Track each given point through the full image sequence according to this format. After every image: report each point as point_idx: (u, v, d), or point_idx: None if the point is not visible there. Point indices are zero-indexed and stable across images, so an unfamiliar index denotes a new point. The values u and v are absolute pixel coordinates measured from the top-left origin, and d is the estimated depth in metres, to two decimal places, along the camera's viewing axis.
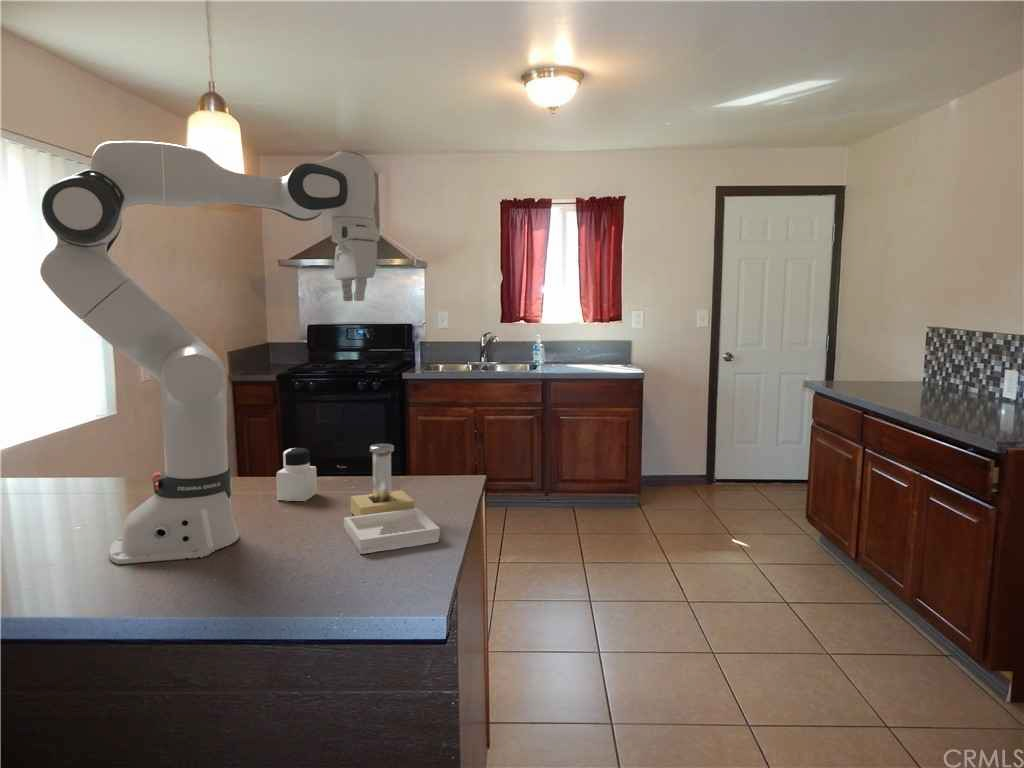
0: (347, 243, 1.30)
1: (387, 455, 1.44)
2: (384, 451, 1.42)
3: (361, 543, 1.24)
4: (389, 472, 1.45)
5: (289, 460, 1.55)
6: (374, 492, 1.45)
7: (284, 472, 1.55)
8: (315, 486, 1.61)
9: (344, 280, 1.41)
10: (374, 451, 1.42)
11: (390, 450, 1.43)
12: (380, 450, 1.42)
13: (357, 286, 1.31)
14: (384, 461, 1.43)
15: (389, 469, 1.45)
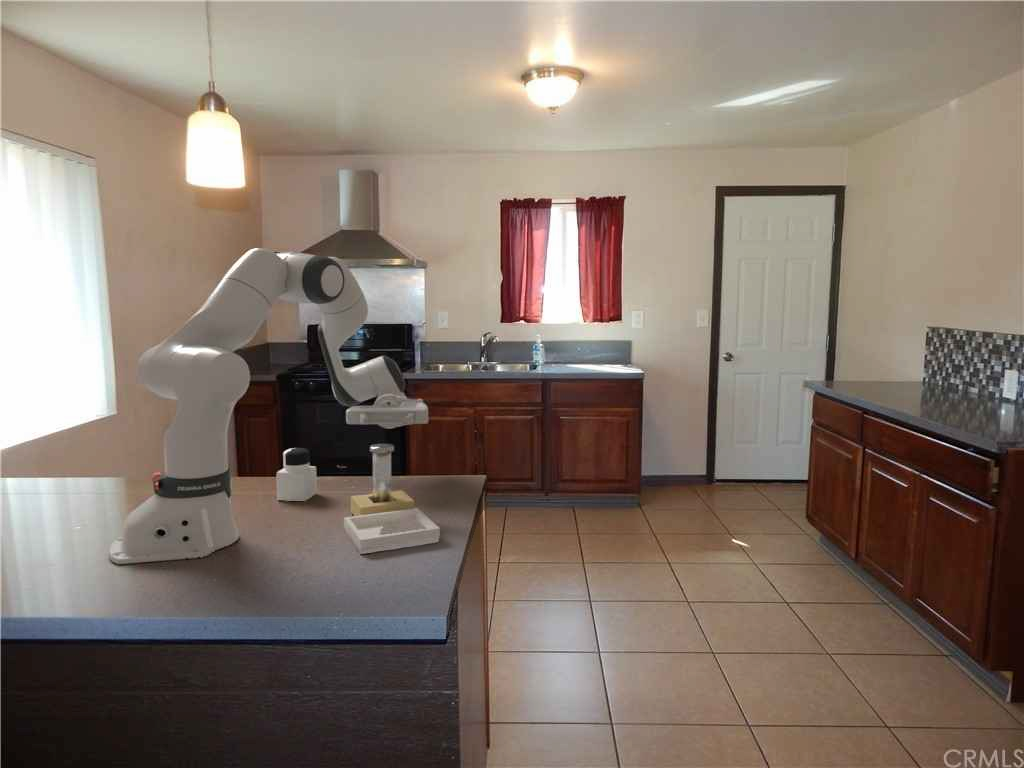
0: (412, 402, 1.68)
1: (387, 455, 1.44)
2: (384, 451, 1.42)
3: (361, 543, 1.24)
4: (389, 472, 1.45)
5: (289, 460, 1.55)
6: (374, 492, 1.45)
7: (284, 472, 1.55)
8: (315, 486, 1.61)
9: (365, 415, 1.60)
10: (374, 451, 1.42)
11: (390, 450, 1.43)
12: (380, 450, 1.42)
13: (412, 415, 1.60)
14: (384, 461, 1.43)
15: (389, 469, 1.45)
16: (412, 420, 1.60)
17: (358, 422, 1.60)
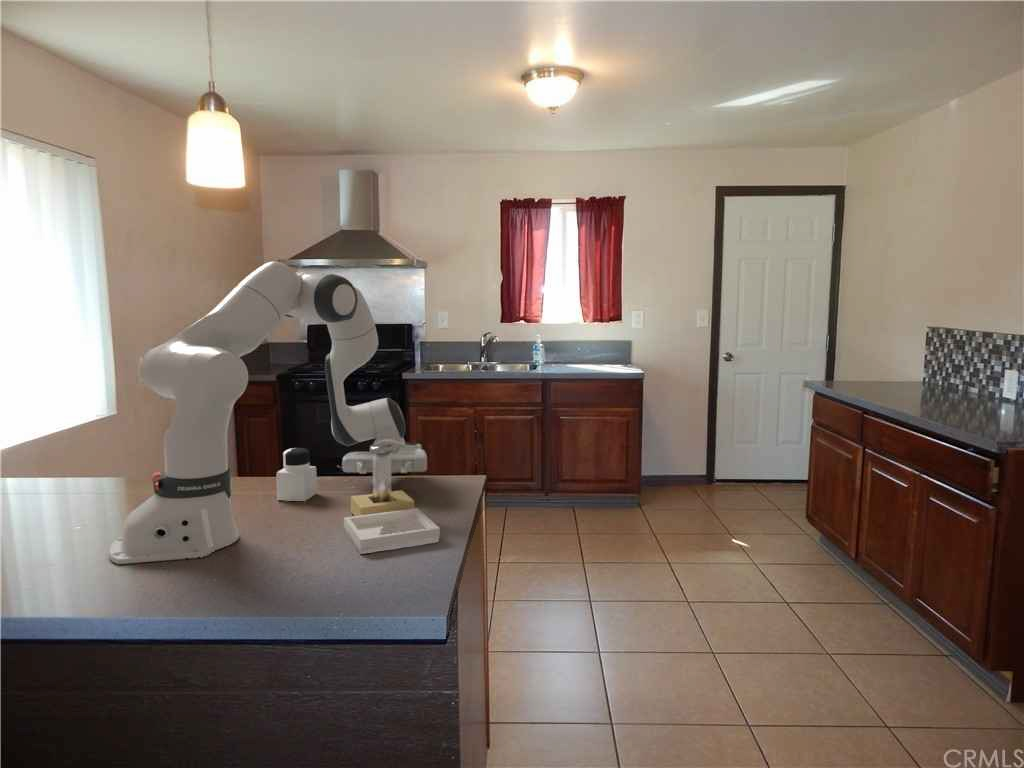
0: (410, 448, 1.63)
1: (387, 455, 1.44)
2: (384, 451, 1.42)
3: (361, 543, 1.24)
4: (389, 472, 1.45)
5: (289, 460, 1.55)
6: (374, 492, 1.45)
7: (284, 472, 1.55)
8: (315, 486, 1.61)
9: (362, 463, 1.56)
10: (374, 451, 1.42)
11: (390, 450, 1.43)
12: (380, 450, 1.42)
13: (410, 463, 1.55)
14: (384, 461, 1.43)
15: (389, 469, 1.45)
16: (410, 469, 1.56)
17: (355, 470, 1.56)
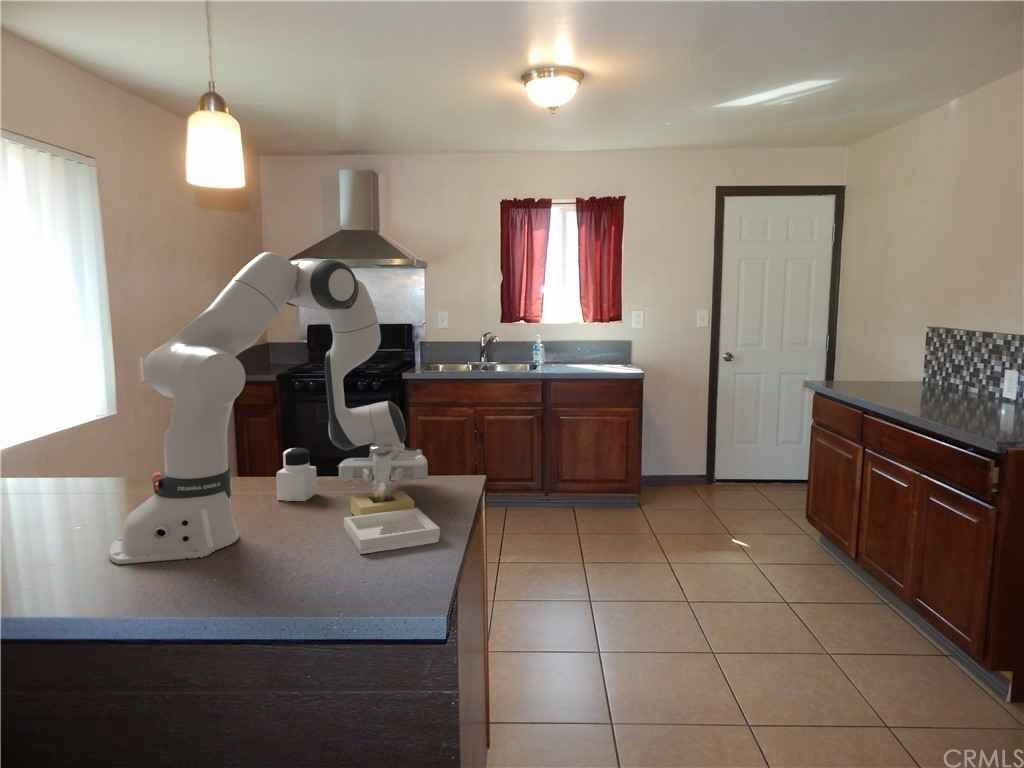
0: (410, 453, 1.56)
1: (387, 455, 1.44)
2: (384, 451, 1.42)
3: (361, 543, 1.24)
4: (389, 472, 1.45)
5: (289, 460, 1.55)
6: (374, 492, 1.45)
7: (284, 472, 1.55)
8: (315, 486, 1.61)
9: (369, 470, 1.49)
10: (374, 451, 1.42)
11: (390, 450, 1.43)
12: (380, 450, 1.42)
13: (401, 471, 1.48)
14: (384, 461, 1.43)
15: (389, 469, 1.45)
16: (401, 476, 1.48)
17: (352, 478, 1.49)
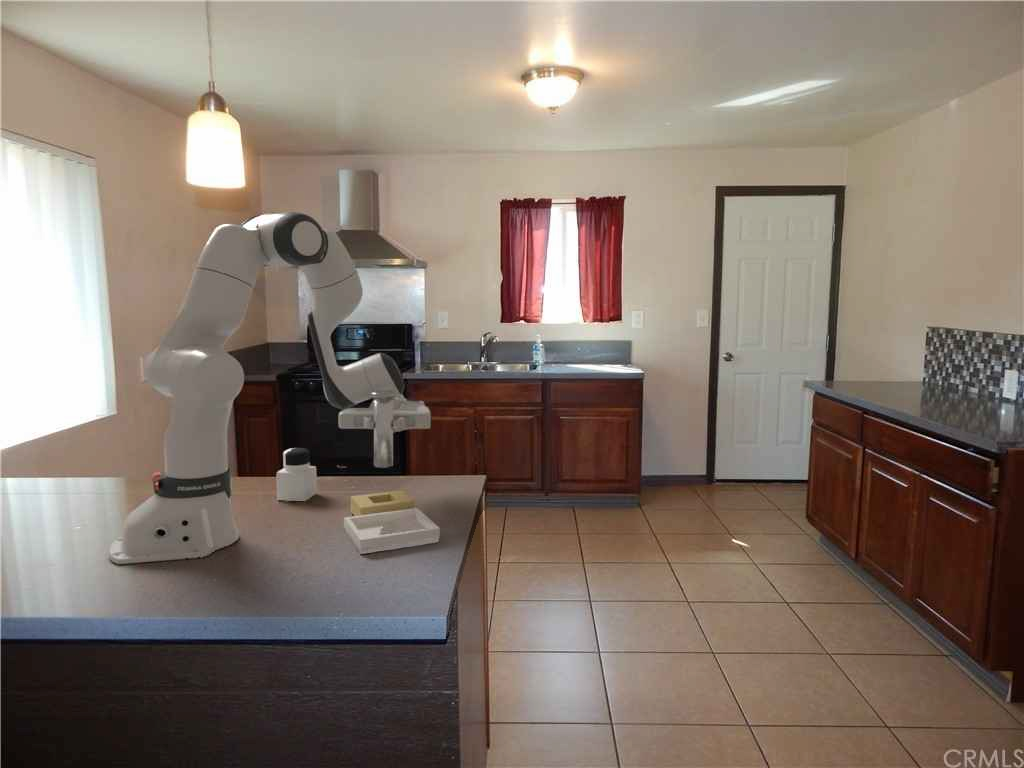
0: (412, 404, 1.51)
1: (389, 401, 1.38)
2: (386, 396, 1.37)
3: (361, 543, 1.24)
4: (391, 419, 1.39)
5: (289, 460, 1.55)
6: (375, 440, 1.39)
7: (284, 472, 1.55)
8: (315, 486, 1.61)
9: (369, 418, 1.43)
10: (376, 396, 1.37)
11: (392, 396, 1.38)
12: (382, 395, 1.37)
13: (403, 419, 1.43)
14: (386, 407, 1.38)
15: (391, 416, 1.39)
16: (403, 424, 1.43)
17: (352, 426, 1.43)
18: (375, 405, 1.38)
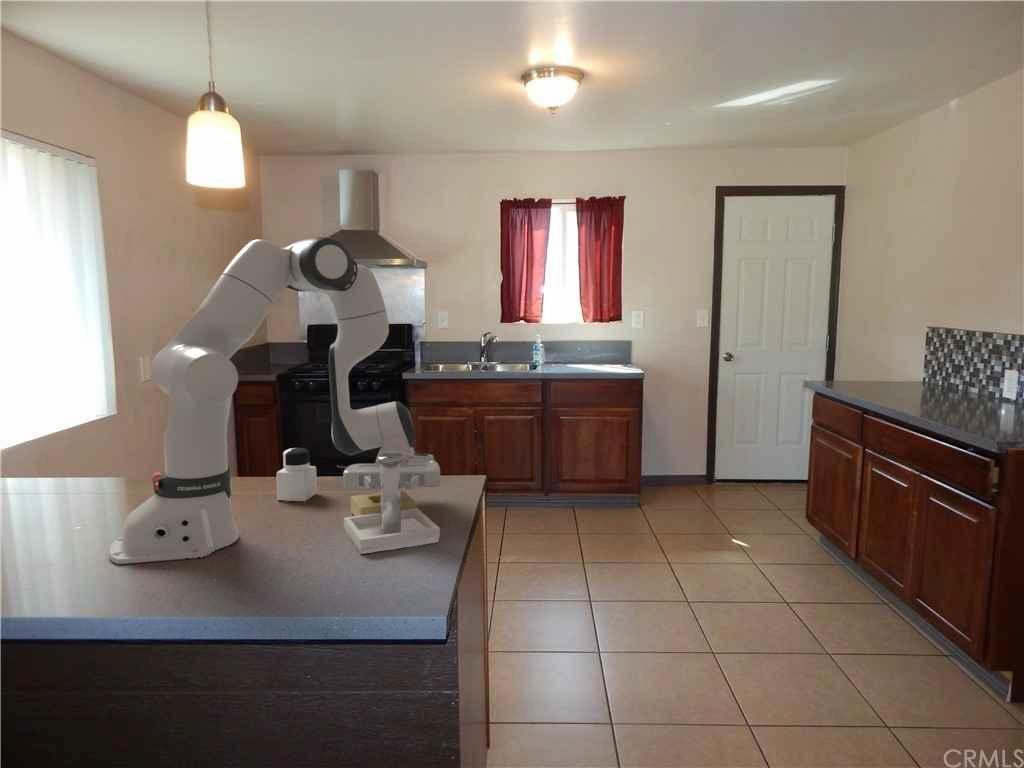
0: (420, 459, 1.43)
1: (396, 466, 1.30)
2: (393, 462, 1.29)
3: (361, 543, 1.24)
4: (399, 484, 1.32)
5: (289, 460, 1.55)
6: (382, 506, 1.32)
7: (284, 472, 1.55)
8: (315, 486, 1.61)
9: (371, 477, 1.35)
10: (382, 462, 1.29)
11: (399, 460, 1.30)
12: (388, 461, 1.29)
13: (417, 478, 1.35)
14: (393, 472, 1.30)
15: (398, 481, 1.31)
16: (417, 484, 1.35)
17: (357, 486, 1.35)
18: (381, 470, 1.31)
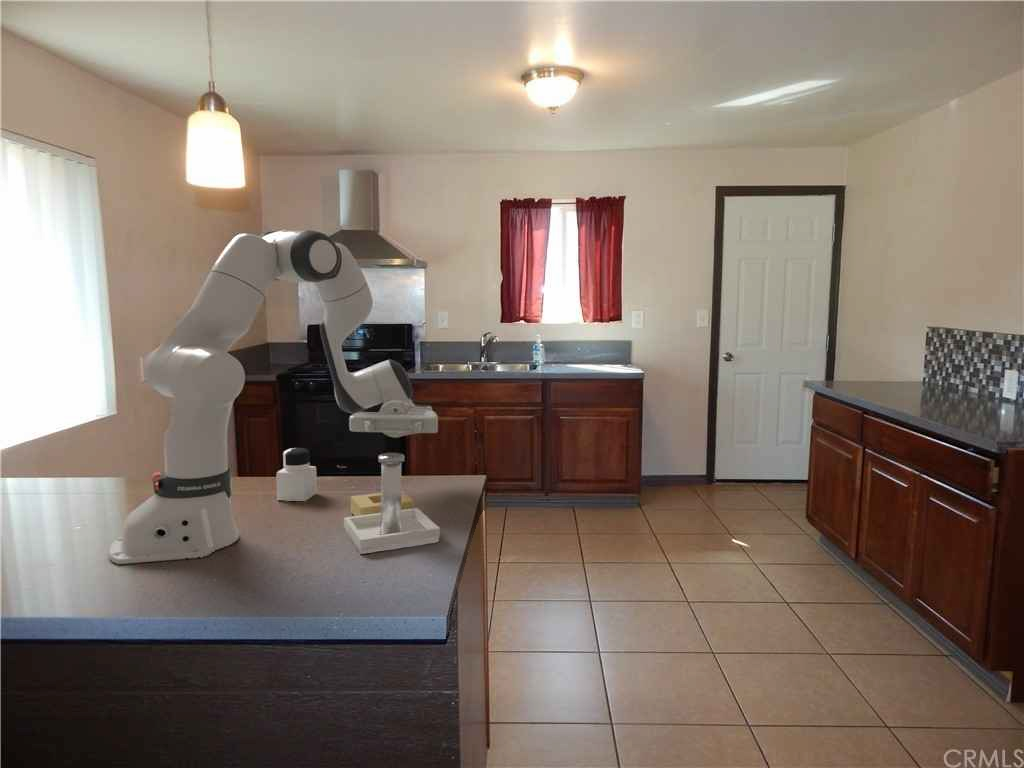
0: (420, 409, 1.56)
1: (397, 466, 1.31)
2: (394, 461, 1.29)
3: (361, 543, 1.24)
4: (399, 484, 1.32)
5: (289, 460, 1.55)
6: (382, 506, 1.32)
7: (284, 472, 1.55)
8: (315, 486, 1.61)
9: (370, 422, 1.48)
10: (383, 461, 1.29)
11: (400, 460, 1.30)
12: (390, 460, 1.29)
13: (420, 423, 1.48)
14: (394, 472, 1.30)
15: (399, 481, 1.32)
16: (420, 429, 1.48)
17: (362, 429, 1.48)
18: (382, 470, 1.31)
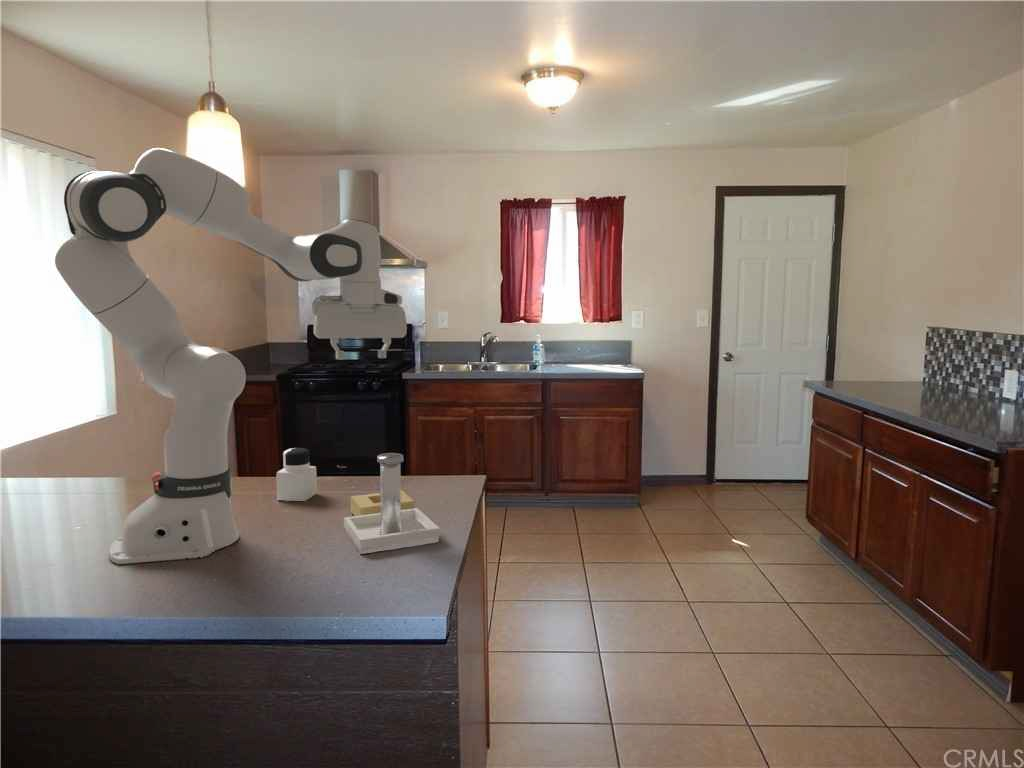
0: (390, 308, 1.45)
1: (396, 466, 1.31)
2: (393, 462, 1.29)
3: (361, 543, 1.24)
4: (399, 484, 1.32)
5: (289, 460, 1.55)
6: (382, 506, 1.32)
7: (284, 472, 1.55)
8: (315, 486, 1.61)
9: None
10: (382, 462, 1.29)
11: (399, 460, 1.30)
12: (388, 461, 1.29)
13: None
14: (393, 472, 1.30)
15: (398, 481, 1.31)
16: None
17: None
18: (381, 470, 1.31)
